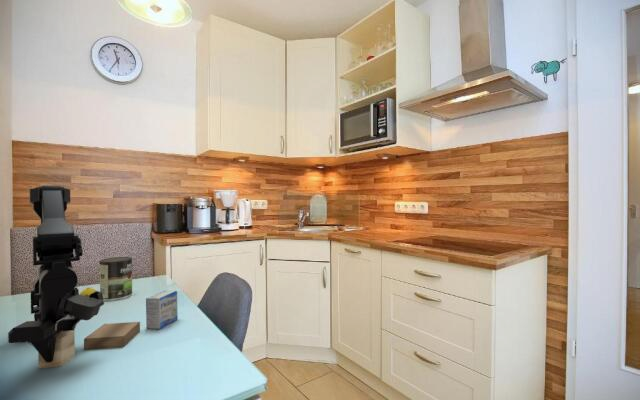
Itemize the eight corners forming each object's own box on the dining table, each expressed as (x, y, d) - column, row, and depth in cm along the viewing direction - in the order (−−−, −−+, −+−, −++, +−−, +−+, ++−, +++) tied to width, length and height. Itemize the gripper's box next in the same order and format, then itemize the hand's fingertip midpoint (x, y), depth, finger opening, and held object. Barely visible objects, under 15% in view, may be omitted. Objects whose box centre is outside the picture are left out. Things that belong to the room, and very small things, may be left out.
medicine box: (159, 329, 86) (159, 298, 86) (145, 328, 87) (145, 297, 87) (178, 319, 94) (177, 290, 94) (165, 318, 95) (164, 289, 95)
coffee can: (138, 292, 121) (138, 256, 121) (121, 301, 111) (120, 261, 111) (112, 292, 122) (111, 256, 122) (92, 301, 111) (92, 261, 111)
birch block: (38, 368, 67) (38, 340, 67) (52, 357, 71) (52, 331, 71) (61, 366, 68) (61, 338, 68) (74, 356, 72) (74, 330, 72)
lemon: (78, 316, 96) (78, 291, 96) (77, 312, 101) (77, 287, 101) (100, 312, 100) (100, 287, 100) (98, 307, 104) (97, 284, 104)
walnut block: (84, 351, 75) (83, 338, 75) (104, 334, 84) (104, 323, 84) (124, 348, 77) (124, 335, 77) (140, 332, 85) (139, 321, 85)
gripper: (69, 297, 61) (70, 376, 61) (116, 274, 80) (116, 335, 80) (5, 300, 60) (6, 381, 60) (68, 276, 78) (68, 338, 78)
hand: (57, 356), depth 69 cm, fingers closed on birch block, 4 cm apart
